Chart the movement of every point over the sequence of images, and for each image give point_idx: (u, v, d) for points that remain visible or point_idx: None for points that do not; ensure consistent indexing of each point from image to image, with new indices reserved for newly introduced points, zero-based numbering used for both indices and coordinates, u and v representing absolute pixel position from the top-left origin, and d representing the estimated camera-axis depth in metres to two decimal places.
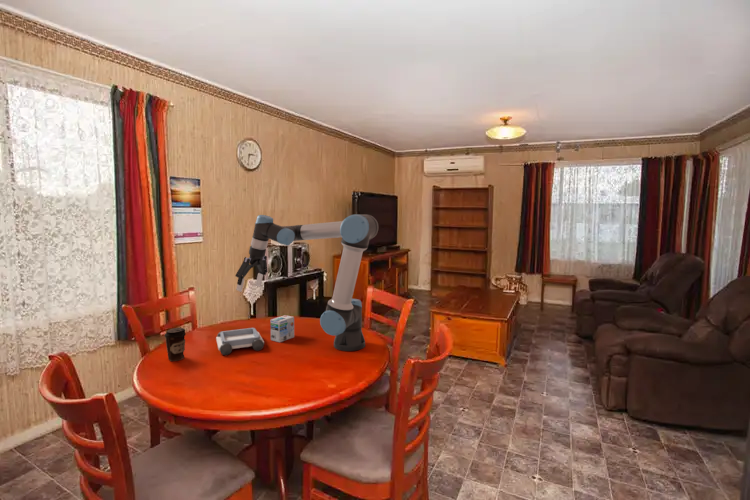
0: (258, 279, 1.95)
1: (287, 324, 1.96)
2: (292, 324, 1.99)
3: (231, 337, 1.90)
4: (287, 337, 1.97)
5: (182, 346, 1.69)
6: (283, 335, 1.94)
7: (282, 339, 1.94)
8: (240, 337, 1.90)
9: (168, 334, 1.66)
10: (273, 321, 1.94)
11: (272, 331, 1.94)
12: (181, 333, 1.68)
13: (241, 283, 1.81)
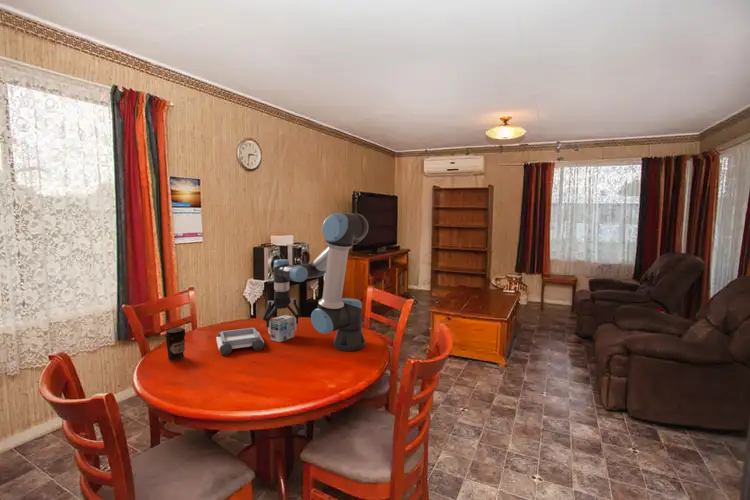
0: None
1: (287, 324, 1.96)
2: (292, 324, 1.99)
3: (231, 337, 1.90)
4: (287, 337, 1.97)
5: (182, 346, 1.69)
6: (282, 335, 1.94)
7: (282, 339, 1.94)
8: (240, 337, 1.90)
9: (168, 334, 1.66)
10: (273, 321, 1.94)
11: (272, 331, 1.94)
12: (181, 333, 1.68)
13: None
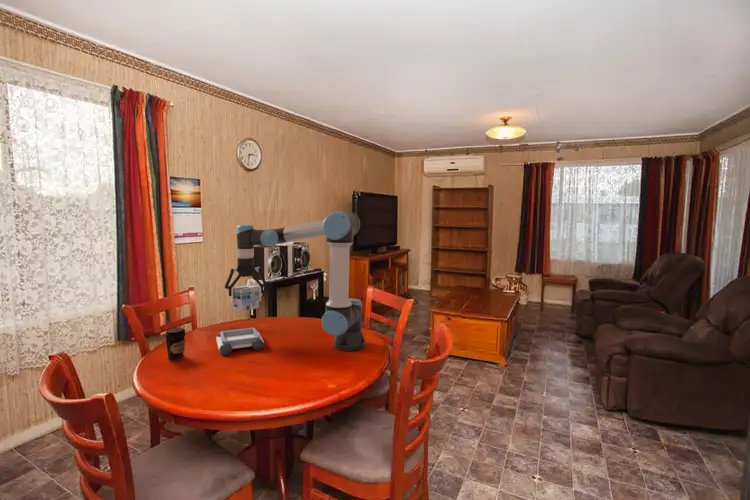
0: (259, 293, 1.90)
1: (250, 293, 1.86)
2: (257, 294, 1.89)
3: (231, 337, 1.90)
4: (251, 307, 1.86)
5: (182, 346, 1.69)
6: (245, 304, 1.84)
7: (245, 308, 1.83)
8: (240, 337, 1.90)
9: (168, 334, 1.66)
10: (235, 289, 1.83)
11: (234, 300, 1.84)
12: (181, 333, 1.68)
13: (231, 294, 1.84)
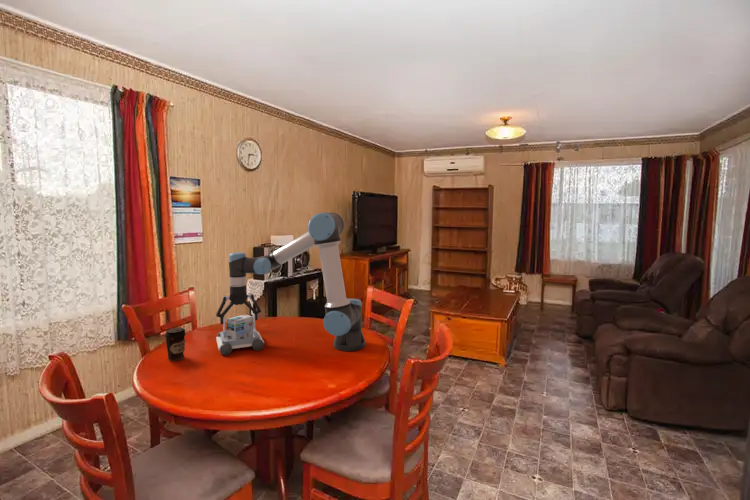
0: (253, 319, 1.89)
1: (244, 324, 1.85)
2: (251, 324, 1.88)
3: None
4: None
5: (182, 346, 1.69)
6: (239, 336, 1.83)
7: None
8: None
9: (168, 334, 1.66)
10: (229, 321, 1.83)
11: (228, 331, 1.83)
12: (181, 333, 1.68)
13: None
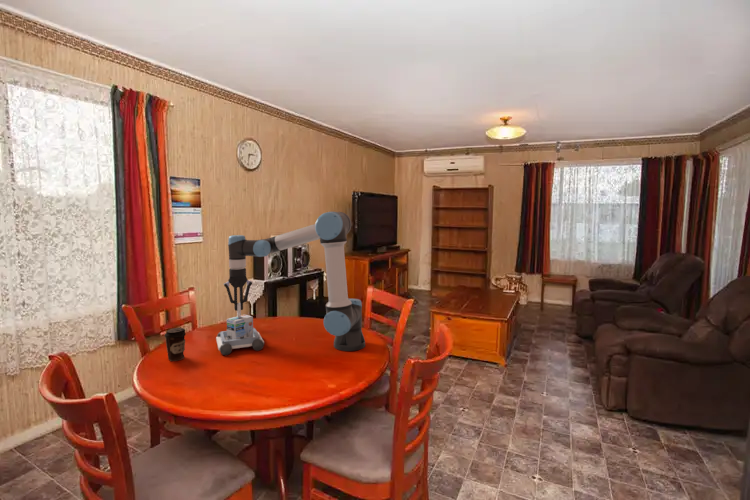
0: None
1: (244, 324, 1.85)
2: (251, 324, 1.88)
3: None
4: None
5: (182, 346, 1.69)
6: (239, 336, 1.83)
7: None
8: None
9: (168, 334, 1.66)
10: (229, 321, 1.83)
11: (228, 331, 1.83)
12: (181, 333, 1.68)
13: None
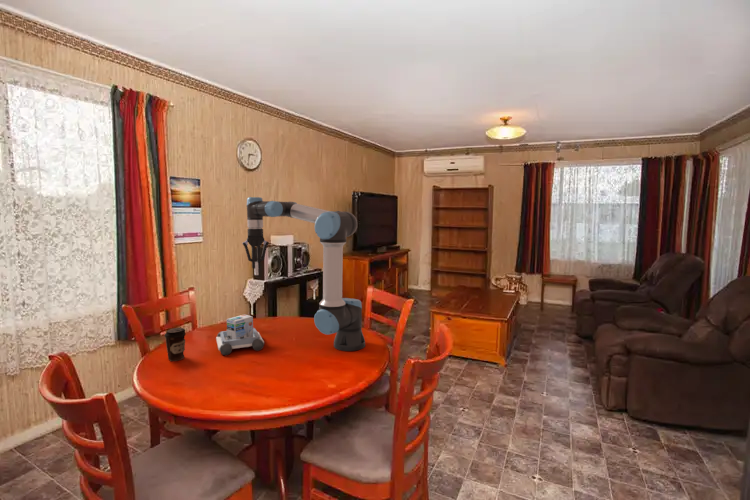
0: None
1: (244, 324, 1.85)
2: (251, 324, 1.88)
3: None
4: None
5: (182, 346, 1.69)
6: (239, 336, 1.83)
7: None
8: None
9: (168, 334, 1.66)
10: (229, 321, 1.83)
11: (228, 331, 1.83)
12: (181, 333, 1.68)
13: (254, 267, 1.96)
